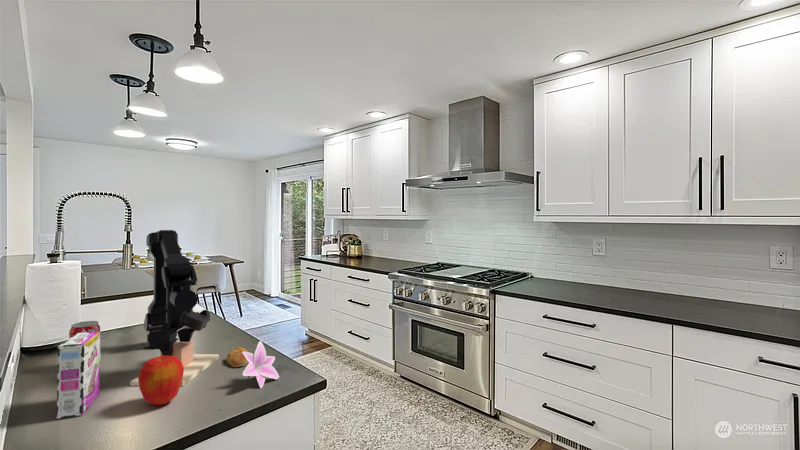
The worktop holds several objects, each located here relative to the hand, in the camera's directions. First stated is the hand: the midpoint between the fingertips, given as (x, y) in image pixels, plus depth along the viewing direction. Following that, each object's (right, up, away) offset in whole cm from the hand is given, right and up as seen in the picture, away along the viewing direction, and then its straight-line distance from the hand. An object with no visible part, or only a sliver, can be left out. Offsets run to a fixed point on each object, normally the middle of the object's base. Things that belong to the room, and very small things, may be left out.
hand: (177, 356), depth 110 cm
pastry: (+16, -4, +7) cm, 17 cm away
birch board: (+1, -4, -1) cm, 4 cm away
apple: (+8, -5, -20) cm, 22 cm away
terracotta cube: (0, -3, 0) cm, 3 cm away
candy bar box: (-10, -4, -22) cm, 24 cm away
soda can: (-28, -4, +1) cm, 28 cm away
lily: (+27, -5, -7) cm, 29 cm away
